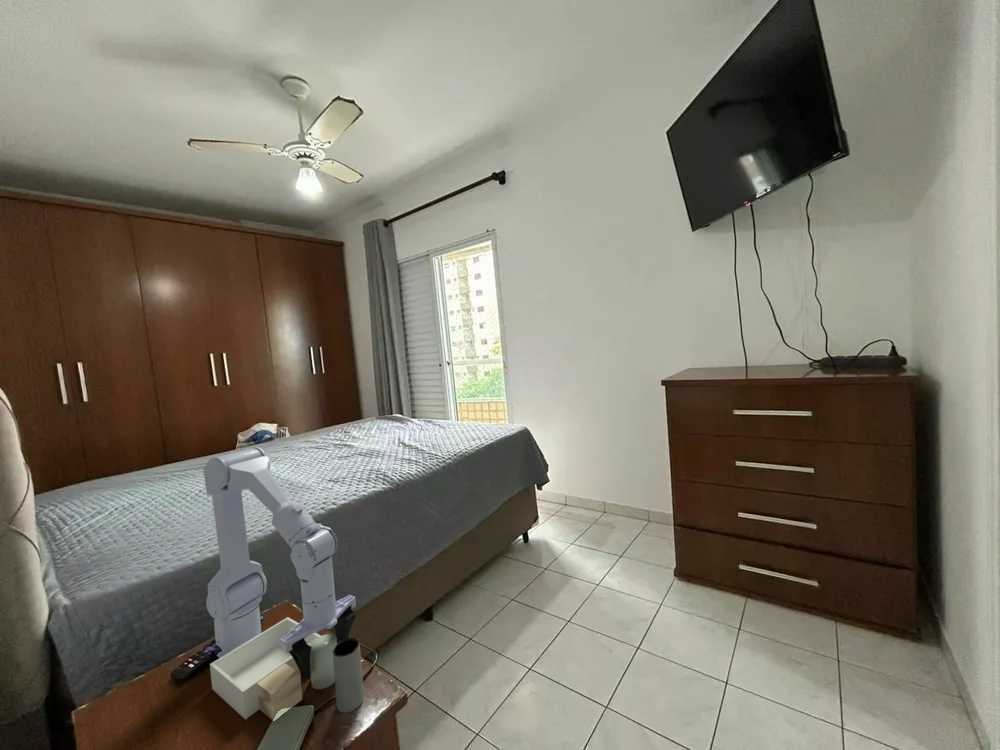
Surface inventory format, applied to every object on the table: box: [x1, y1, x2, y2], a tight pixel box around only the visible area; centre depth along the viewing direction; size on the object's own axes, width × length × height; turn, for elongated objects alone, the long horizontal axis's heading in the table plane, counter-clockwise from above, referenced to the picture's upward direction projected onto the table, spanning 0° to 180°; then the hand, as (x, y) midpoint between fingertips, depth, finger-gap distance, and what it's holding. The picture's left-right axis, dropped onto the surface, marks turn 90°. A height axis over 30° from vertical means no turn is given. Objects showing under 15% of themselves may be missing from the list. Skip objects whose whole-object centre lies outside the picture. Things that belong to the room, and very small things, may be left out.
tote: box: [209, 616, 322, 720], centre depth 77 cm, size 13×15×5 cm
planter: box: [332, 637, 365, 714], centre depth 69 cm, size 4×4×10 cm
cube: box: [257, 664, 303, 721], centre depth 70 cm, size 5×5×5 cm
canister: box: [309, 633, 337, 690], centre depth 75 cm, size 5×5×7 cm
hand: (324, 662), depth 75 cm, fingers open, 7 cm apart
